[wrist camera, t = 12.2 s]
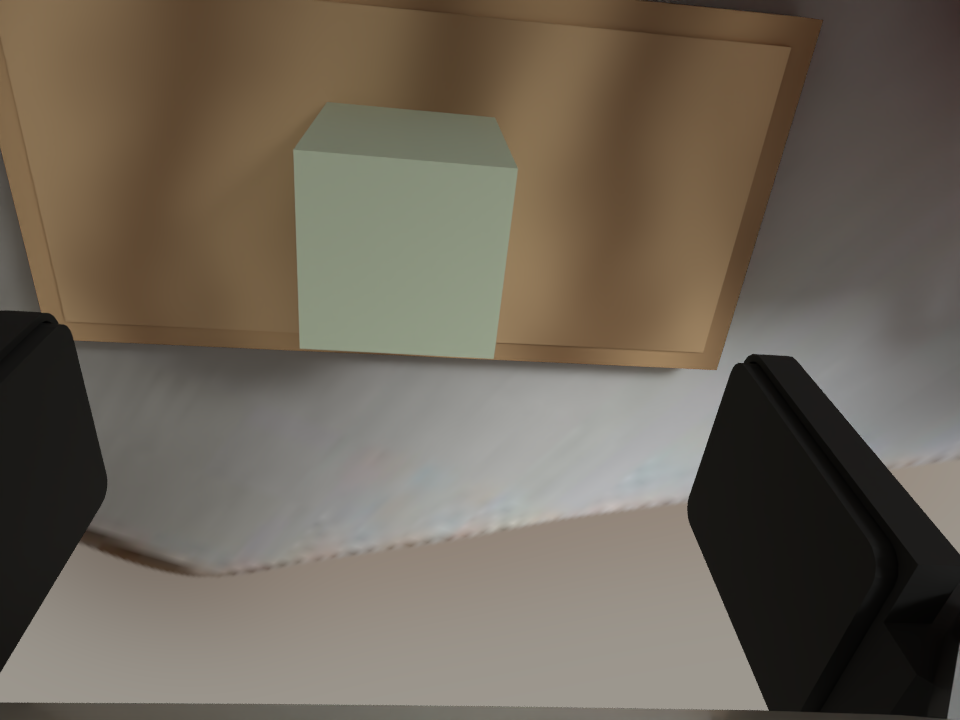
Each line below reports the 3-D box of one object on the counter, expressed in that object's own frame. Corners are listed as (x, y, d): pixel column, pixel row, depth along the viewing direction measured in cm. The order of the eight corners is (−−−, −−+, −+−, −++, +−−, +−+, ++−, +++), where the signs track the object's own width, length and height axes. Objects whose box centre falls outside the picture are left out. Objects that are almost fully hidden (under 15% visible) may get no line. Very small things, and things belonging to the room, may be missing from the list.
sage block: (494, 117, 21) (518, 168, 16) (478, 270, 23) (494, 358, 18) (327, 101, 20) (293, 149, 15) (328, 260, 23) (299, 348, 18)
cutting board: (799, 16, 22) (825, 20, 20) (702, 350, 27) (718, 371, 26) (-21, -69, 19) (-58, -72, 18) (67, 319, 25) (45, 341, 23)
